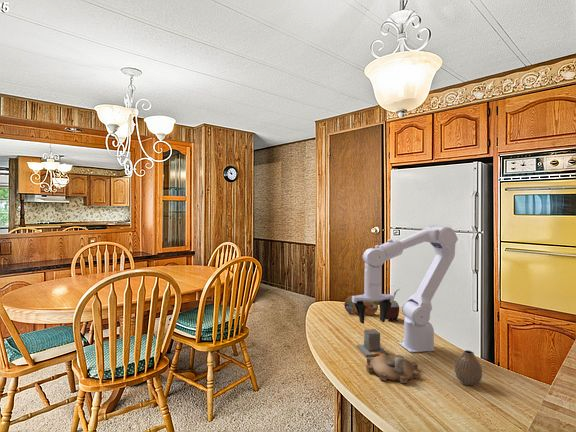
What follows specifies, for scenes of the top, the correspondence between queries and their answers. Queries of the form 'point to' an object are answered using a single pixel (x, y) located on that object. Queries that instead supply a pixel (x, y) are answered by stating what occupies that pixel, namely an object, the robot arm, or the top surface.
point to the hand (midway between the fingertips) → (372, 321)
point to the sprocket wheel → (392, 368)
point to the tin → (370, 306)
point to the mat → (371, 353)
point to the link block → (372, 340)
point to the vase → (468, 369)
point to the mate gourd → (393, 310)
